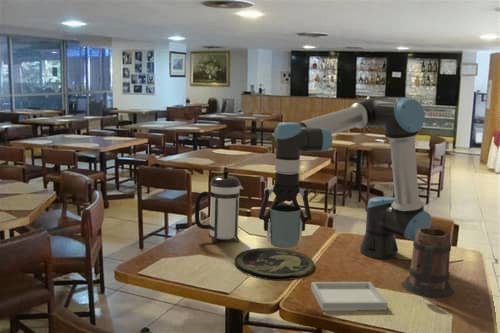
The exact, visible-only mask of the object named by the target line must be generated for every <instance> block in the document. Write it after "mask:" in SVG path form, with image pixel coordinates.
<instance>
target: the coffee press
mask: <svg viewBox="0 0 500 333" xmlns="http://www.w3.org/2000/svg"><path fill="white" fill-rule="evenodd" d="M209 184H210V191H203V192H200V193H198V195H197V196H196V198H195V202H194V203H195V204H194V222H195V225H196V226H197V228H199V229H202V230H209V233H208V236H209V237H210V238H211V237H212V243H213V244H217V243H218V241H219V240H233V241H234V242H235V243H239V242H240V239H239V237H238V235H239V211H240V209H239V208H240V195H241V194H240V193H241V192H240V190H244V187H243V186H242V185H241V182H240V180H239V178H238V177H236V176H234V175H229V171H228V170H226V169H225V170H223V172H222V175H216V176H214V177H213V178H211V181H210V183H209ZM207 196H210V215H209V219H210V220H209V224H203V223H201V222H200V202H201V200H202V198H203V197H207Z"/></svg>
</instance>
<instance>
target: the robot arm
mask: <svg viewBox="0 0 500 333" xmlns="http://www.w3.org/2000/svg"><path fill="white" fill-rule="evenodd" d="M425 120H426V112H425V110H424V107H423V105H422V104H421V102H419V101H418V100H417V99H416V98H415V99H414V98H411V97H406V96H405V97H404V96H403V97H401V96H376V97H372V98H367V99H365V100H362V101H358V102H355V103H353V104H351V105H350V107H348V108H344V109H339V110H337V111H333V112H330V113H327V114H323V115H319V116H315V117H312V118H308V119H304V120H301V121H299V122H292V121H290V122H287V121H283V122H279V123H278V124H277V126H276V128H275V129H274V133H273V136H274V140H275V142H276V143H275V144H276V145H275V164H274V165H275V167H274V168H275V169H274V170H275V172H274V184H273V187H271V188H267V187H265V188H264V190H263V192H264V196H263V198H262V203H261V206H260V209H259V213H258V218H259V219H258V220H262V221H263V230H264V232H266V242H267V243H271V237H270V236H271V234H270V228H271V222H270V217H271V215H270V210H269V208H268V210H267V211H266V208H267V206H268V203H269V199H270V196H271V195H272V193H273V194H274V195H275V197H274V199H273V201H272V203H271V204H270V206H269V207H270V208H271V209H272V210H275V208H276V207H277V205H278V204H280V202H292V203H293V204H292V205H294V206H295V208H296V210H297V211H298V210H299V209H300V208H301V207H300V205H299V202H298V200H297V198H296V197H297V196H298V195H299V194H300V195H301V198H302V202H303V206H304V212H305V215H304V213H303V211H302V210H301V213H300V220H299V232H298V242H299V243H302V236H303V232H305V230H306V223H307V221H311V220H312V213H311V209H310V204H309V199H308V196H309V191H308V189H307V188H300V187H299V177H300V174H299V171H300V160H301V159H300V158H301V153H315V152H317V153H318V152H319V153H321V152H327V151H328V150H330V148H331V147H332V144H333V135H335V134H338V133H341V132H344V131H347V130H350V129H355V128H357V129H363V128H364V129H365V128H369V127H370V128H379V129H384V136H385V138H386V139H388V140H389V144H390V156H391V169H392V180H393V191H394V192H393V193H394V197H392V196H375V197H371V198H369V199H368V202H367V207H366V218H365V220H366V221H365V222H366V223H365V233H364V235H363V237H362V240H361V243H360V245H359V252H360V253H361V254H362V255H364V256H367V257H370V258H374V259H383V260H385V259H387V260H389V259H394V258H397V257H398V254H399V249H398V243H397V240H396V235H397V236H400V237H403V238H405V239H406V240H412V241H414V239H415V237H416V233H417V230H418V229H419V228H431V226H432V222H433V221H432V220H433V219H432V215H431V214H430V213H429V212H428V211H425V208H424V206H425V205H424V202H423V200H421V199H420V197H419V181H418V168H417V167H418V166H417V156H416V155H417V154H416V143H415V142H416V137H418V135H419V133H420V132H419V131H420V130H421V129H422V128H423V126H424V123H425Z"/></svg>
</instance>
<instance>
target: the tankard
mask: <svg viewBox="0 0 500 333" xmlns="http://www.w3.org/2000/svg"><path fill="white" fill-rule="evenodd" d="M450 238H451V237H450V232H448V231H444V230H442V229H440V228H439V229H438V228H434V227H430V228H419V229H418V230H417V233H416V237H415V239H414V240H413V244H412V246H413V247H412V255H411V262H410V266H409V271H408V272H409V275H408V276H407V277H406V278H405V280H404V281H402V283H401V286H402V288H403V289H404V290H405V291H407V292H409V293H411V294H413V295H416V296H418V297H419V296H420V297H422V298H428V299H447V298H450V297H451V298H452V296H454V294H455V292H454V289H453V288H452V286H451V284H450V283H449V279H450V255H451V251H452V244H451V239H450Z"/></svg>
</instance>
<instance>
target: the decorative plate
mask: <svg viewBox="0 0 500 333" xmlns="http://www.w3.org/2000/svg"><path fill="white" fill-rule="evenodd" d="M234 266H235V267H236V269H237V270H239V271H240V270H241V271H240V272H242V271H243V272H242V273H244V274H246V273H247V274H246V275H248V274H250V275H249V276H251V275H252V277H254V276H256V277H255V278H258V277H260V279H264V278H267V279H266V280H273V279H288V280H291V279H290V278H296V279H299V278H304V277H307V276H309V275H310V274H312V272H314V271H315V262H314V261H313V259H312V258H311V257H309V256H308V255H307V254H305V253H301V252H299V251H296V250H292V249H289V248H279V247H258V248H252V249H245V250H244V251H242V252H239V253H238V254H237V255H236V256H235V258H234Z"/></svg>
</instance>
